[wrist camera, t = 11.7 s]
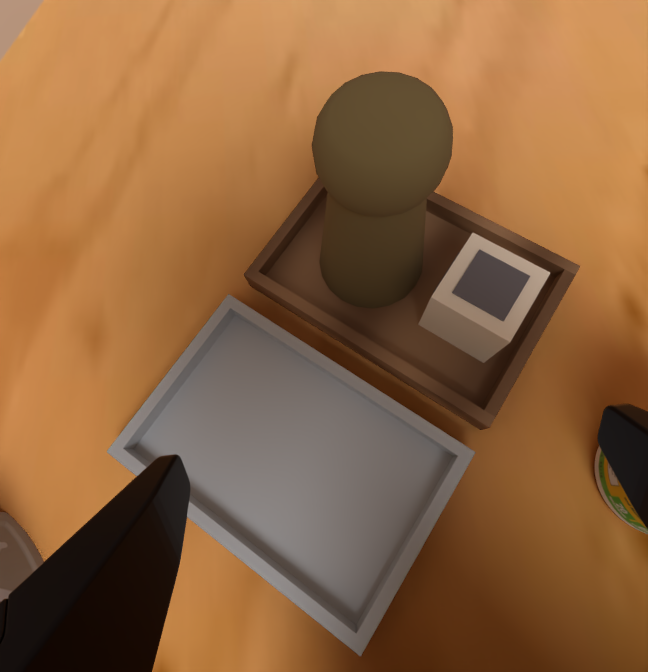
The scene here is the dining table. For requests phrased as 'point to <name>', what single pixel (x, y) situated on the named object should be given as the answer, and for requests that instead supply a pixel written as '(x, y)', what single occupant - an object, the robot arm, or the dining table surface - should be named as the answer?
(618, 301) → the dining table surface
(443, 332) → the beige and grey cube
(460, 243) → the walnut tray
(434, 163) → the brown rounded upright piece
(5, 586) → the dog bowl
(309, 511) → the grey tray
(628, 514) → the supplement bottle
